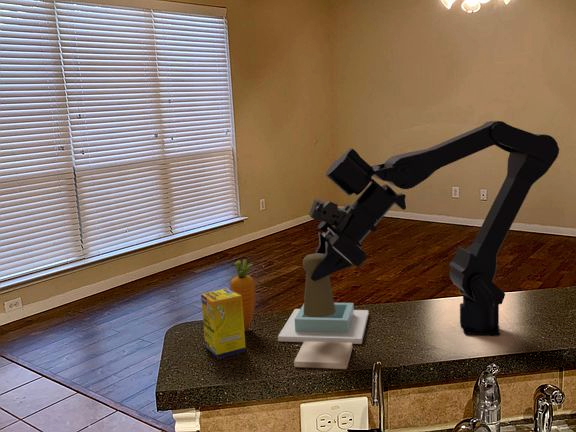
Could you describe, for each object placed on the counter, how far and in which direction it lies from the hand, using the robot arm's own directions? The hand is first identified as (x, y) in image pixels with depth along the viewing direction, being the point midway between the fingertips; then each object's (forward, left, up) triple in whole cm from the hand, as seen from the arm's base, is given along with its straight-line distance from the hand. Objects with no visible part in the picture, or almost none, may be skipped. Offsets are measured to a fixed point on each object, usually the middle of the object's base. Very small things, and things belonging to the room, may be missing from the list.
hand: (310, 275), depth 105 cm
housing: (-1, -9, -13) cm, 16 cm away
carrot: (+15, -6, -14) cm, 21 cm away
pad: (-3, +6, -13) cm, 15 cm away
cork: (-1, -1, -7) cm, 7 cm away
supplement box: (+16, +4, -14) cm, 21 cm away
